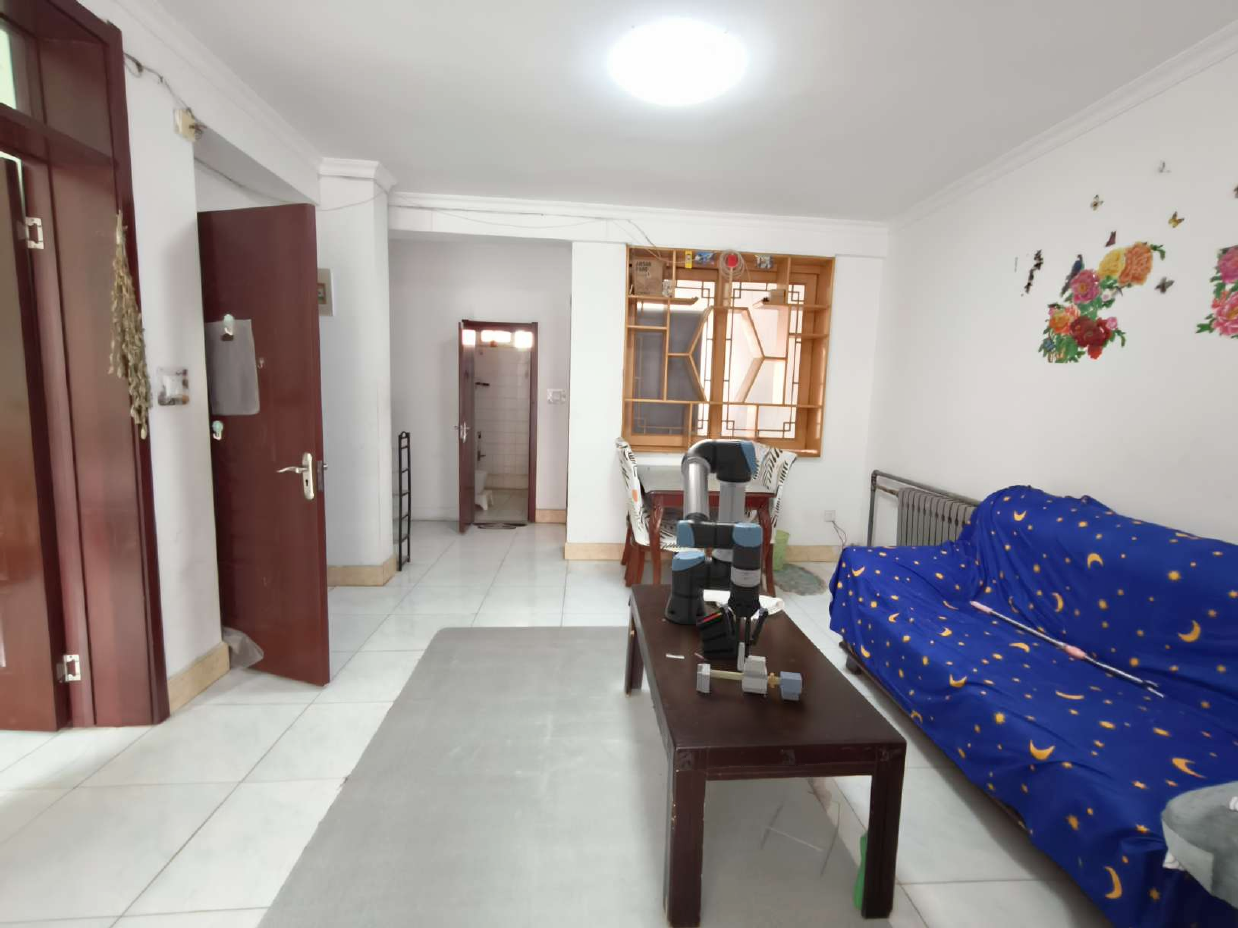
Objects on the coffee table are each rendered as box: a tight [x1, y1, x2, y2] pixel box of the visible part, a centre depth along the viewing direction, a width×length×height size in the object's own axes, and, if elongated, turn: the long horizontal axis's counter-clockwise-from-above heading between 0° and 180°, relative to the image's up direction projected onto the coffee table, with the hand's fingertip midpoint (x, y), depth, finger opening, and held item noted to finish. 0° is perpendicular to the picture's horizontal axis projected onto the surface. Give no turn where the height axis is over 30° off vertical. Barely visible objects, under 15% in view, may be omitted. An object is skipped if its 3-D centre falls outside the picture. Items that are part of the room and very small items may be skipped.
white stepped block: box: [741, 655, 768, 695], centre depth 144 cm, size 5×6×8 cm
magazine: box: [695, 607, 738, 659], centre depth 164 cm, size 4×13×15 cm, turn 92°
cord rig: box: [696, 663, 803, 702], centre depth 144 cm, size 6×27×6 cm, turn 80°
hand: (740, 667), depth 144 cm, fingers closed
